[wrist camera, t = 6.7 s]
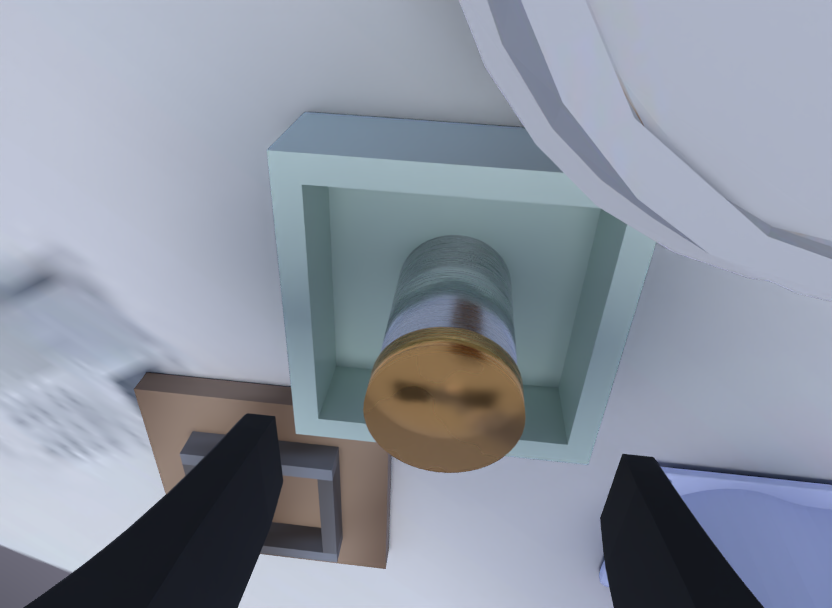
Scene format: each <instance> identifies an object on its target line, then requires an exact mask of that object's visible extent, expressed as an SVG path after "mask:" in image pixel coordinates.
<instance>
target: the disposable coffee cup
mask: <svg viewBox="0 0 832 608" xmlns="http://www.w3.org/2000/svg"><path fill="white" fill-rule="evenodd" d="M459 2H460V5H461V8H462V10H463V13H464V15H465V18H466V20H467V23H468V25H469V28H470V30H471V33H472V35H473V38H474V41H475V43H476V46H477V48H478V51H479V53H480V56H481V58H482V61H483V63H484V66H485V68H486V70H487V71H488V73H489V74H490V76H491V77H492V79H493V80H494V82H495V83H496V85H497V86H498V88H499V89H500V91H501V92H502V94H503V95H504V97H505V98H506V100H507V101H508V103H509V104H510V106H511V108H512V109H513V111H514V112H515V114H516V115H517V117H518V118H519V120H520V121H521V123H522V124H523V126H524V127H525V129H526V130H527V132H528V133H529V135H530V136H531V138H532V139H533V141H534V142H535V144H536V145H537V146H538V147H539V148H540V149H541V150H542V151H543V152H544V153H545V154H546V155H547V156H548V157H549V158H550V159H551V160H552V161H553V162H554V163H555V164H556V165H557V166H558V167H559V168H560V170H561V171H562V172H563V173H564V174H565V175H566V176H567V177H568V178H569V179H570V180H571V181H572V182H573V183H574V184H575V185H576V186H577V187H578V188H579V189H580V190H581V191H582V192H583V193H584V194H585V195H586V196H587V197H588V198H589V199H590V200H591V201H592V202H593V203H594V204H595V205H596V206H598V207H599V208H601V209H603V210H604V211H606V212H608V213H609V214H611V215H612V216H614V217H616V218H617V219H619V220H621V221H622V222H624V223H626V224H627V225H629V226H631V227H632V228H634V229H636V230H637V231H639V232H640V233H642V234H644V235H645V236H647V237H649V238H650V239H652V240H654V241H655V242H657V243H659V244H660V245H662V246H664V247H665V248H667V249H668V250H670V251H672V252H674V253H677V254H680V255H682V256H685V257H688V258H691V259H694V260H697V261H700V262H703V263H706V264H709V265H712V266H714V267H717V268H720V269H723V270H726V271H729V272H732V273H735V274H738V275H741V276H743V277H746V278H751V279H758V280H764V281H770V282H772V283H775V284H777V285H779V286H781V287H784V288H786V289H788V290H790V291H792V292H795V293H797V294H800V295H805V296H810V297H814V298H819V299H824V300H828V301H832V0H459Z"/></svg>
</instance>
